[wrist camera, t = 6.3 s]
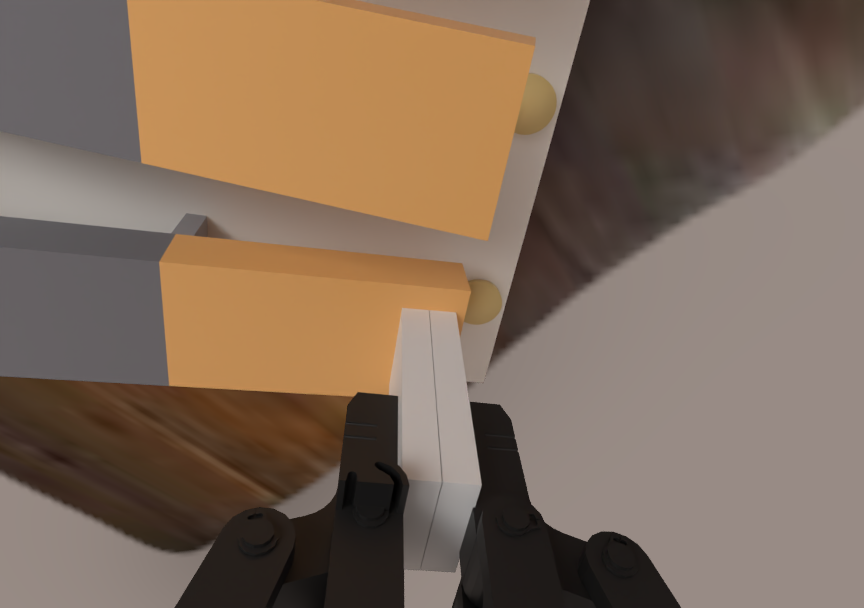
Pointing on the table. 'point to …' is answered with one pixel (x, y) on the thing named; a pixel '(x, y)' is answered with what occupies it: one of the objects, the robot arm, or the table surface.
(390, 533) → the robot arm
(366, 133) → the rocker mid
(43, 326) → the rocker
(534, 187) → the switch box
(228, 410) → the table surface
